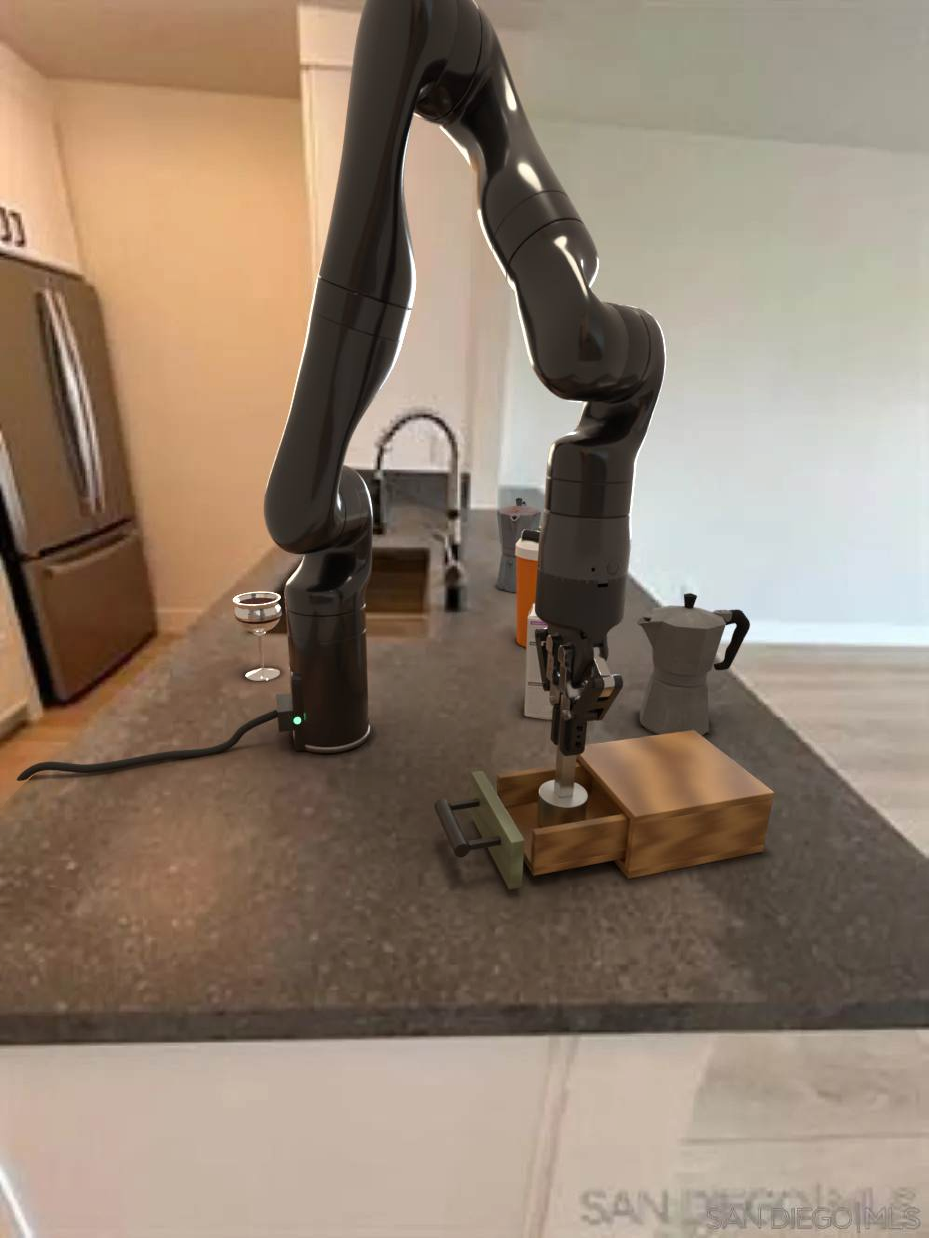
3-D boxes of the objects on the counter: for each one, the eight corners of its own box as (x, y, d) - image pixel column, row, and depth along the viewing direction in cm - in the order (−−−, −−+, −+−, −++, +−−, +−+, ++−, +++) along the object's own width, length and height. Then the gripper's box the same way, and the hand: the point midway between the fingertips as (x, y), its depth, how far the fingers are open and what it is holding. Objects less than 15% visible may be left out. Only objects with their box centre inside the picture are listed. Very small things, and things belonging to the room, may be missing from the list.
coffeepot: (642, 744, 84) (658, 607, 78) (612, 710, 93) (625, 584, 87) (753, 735, 87) (777, 602, 81) (714, 703, 95) (733, 581, 90)
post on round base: (548, 838, 62) (558, 710, 57) (529, 809, 66) (537, 688, 62) (594, 830, 63) (606, 704, 59) (572, 802, 67) (583, 683, 63)
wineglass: (260, 662, 106) (254, 589, 102) (295, 670, 104) (290, 595, 100) (229, 677, 100) (222, 600, 97) (265, 686, 98) (259, 608, 94)
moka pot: (490, 594, 144) (493, 501, 138) (498, 576, 159) (502, 491, 152) (534, 597, 143) (540, 503, 136) (539, 579, 157) (544, 493, 151)
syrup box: (566, 722, 89) (574, 618, 85) (522, 717, 90) (527, 614, 86) (568, 703, 94) (576, 605, 90) (526, 699, 96) (532, 601, 91)
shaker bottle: (570, 639, 119) (579, 527, 112) (548, 655, 112) (556, 536, 105) (525, 630, 123) (531, 521, 117) (501, 644, 116) (506, 529, 110)
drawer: (460, 899, 56) (461, 851, 55) (428, 819, 67) (428, 777, 65) (647, 862, 61) (653, 817, 60) (590, 793, 72) (594, 754, 70)
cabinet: (627, 879, 60) (635, 816, 58) (568, 801, 72) (572, 746, 70) (763, 851, 65) (774, 792, 62) (686, 781, 76) (693, 729, 74)
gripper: (512, 548, 61) (503, 719, 67) (577, 589, 49) (560, 794, 55) (586, 545, 63) (572, 711, 69) (667, 584, 51) (642, 782, 57)
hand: (567, 747), depth 62 cm, fingers closed on post on round base, 1 cm apart
